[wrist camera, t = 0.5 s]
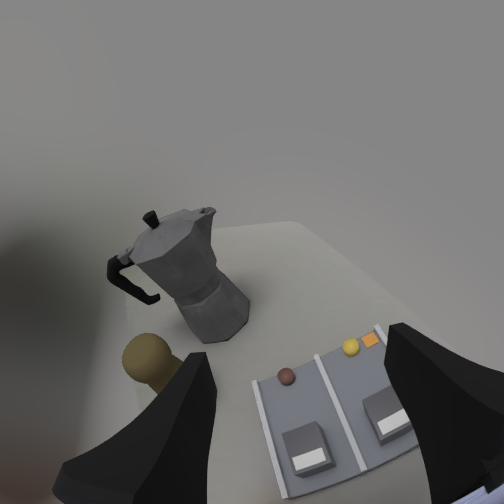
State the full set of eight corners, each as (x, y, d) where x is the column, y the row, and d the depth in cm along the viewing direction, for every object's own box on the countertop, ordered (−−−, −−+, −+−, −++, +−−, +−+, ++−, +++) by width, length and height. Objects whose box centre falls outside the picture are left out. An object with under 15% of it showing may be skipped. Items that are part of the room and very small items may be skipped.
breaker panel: (436, 434, 18) (441, 428, 16) (290, 499, 19) (281, 498, 17) (379, 335, 28) (377, 322, 27) (259, 389, 29) (250, 380, 28)
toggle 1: (336, 466, 19) (331, 461, 17) (303, 478, 19) (293, 475, 17) (322, 429, 22) (315, 419, 20) (291, 440, 22) (280, 432, 20)
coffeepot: (253, 276, 44) (196, 171, 34) (274, 317, 36) (207, 197, 26) (166, 321, 44) (93, 234, 34) (171, 368, 36) (77, 275, 26)
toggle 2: (412, 429, 18) (415, 420, 16) (380, 446, 18) (380, 439, 17) (394, 395, 22) (394, 381, 20) (364, 410, 22) (361, 399, 20)
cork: (214, 369, 34) (162, 315, 27) (219, 412, 29) (159, 366, 22) (173, 382, 34) (117, 333, 28) (174, 423, 29) (109, 381, 23)
